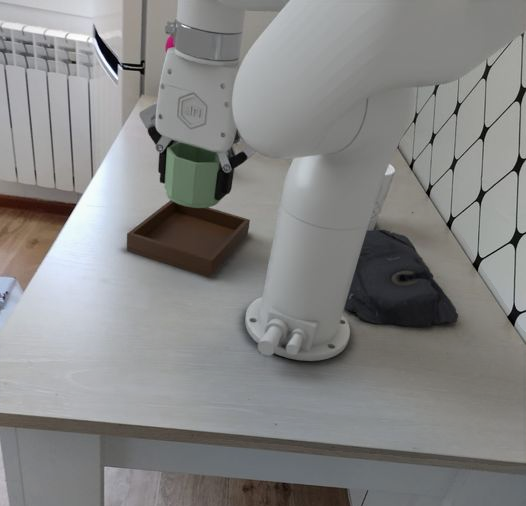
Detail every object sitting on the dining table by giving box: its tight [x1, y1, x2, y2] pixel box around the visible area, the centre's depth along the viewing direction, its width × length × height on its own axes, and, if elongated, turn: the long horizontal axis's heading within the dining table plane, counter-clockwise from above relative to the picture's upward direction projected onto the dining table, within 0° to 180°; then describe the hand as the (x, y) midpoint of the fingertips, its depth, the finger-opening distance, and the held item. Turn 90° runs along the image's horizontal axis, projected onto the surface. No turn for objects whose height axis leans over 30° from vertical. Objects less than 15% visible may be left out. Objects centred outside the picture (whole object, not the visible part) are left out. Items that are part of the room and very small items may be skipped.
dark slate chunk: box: [344, 228, 459, 328], centre depth 82 cm, size 15×22×5 cm
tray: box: [126, 199, 251, 278], centre depth 82 cm, size 14×12×3 cm
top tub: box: [164, 142, 221, 208], centre depth 77 cm, size 7×7×6 cm
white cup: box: [367, 164, 396, 231], centre depth 94 cm, size 8×8×10 cm
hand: (194, 187), depth 78 cm, fingers closed on top tub, 7 cm apart
